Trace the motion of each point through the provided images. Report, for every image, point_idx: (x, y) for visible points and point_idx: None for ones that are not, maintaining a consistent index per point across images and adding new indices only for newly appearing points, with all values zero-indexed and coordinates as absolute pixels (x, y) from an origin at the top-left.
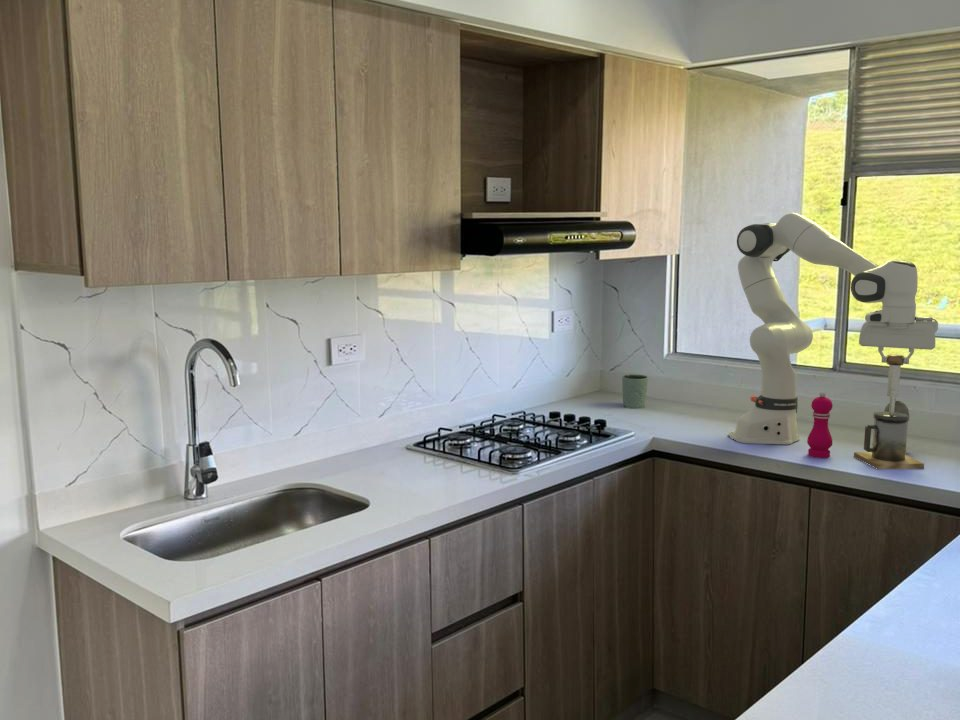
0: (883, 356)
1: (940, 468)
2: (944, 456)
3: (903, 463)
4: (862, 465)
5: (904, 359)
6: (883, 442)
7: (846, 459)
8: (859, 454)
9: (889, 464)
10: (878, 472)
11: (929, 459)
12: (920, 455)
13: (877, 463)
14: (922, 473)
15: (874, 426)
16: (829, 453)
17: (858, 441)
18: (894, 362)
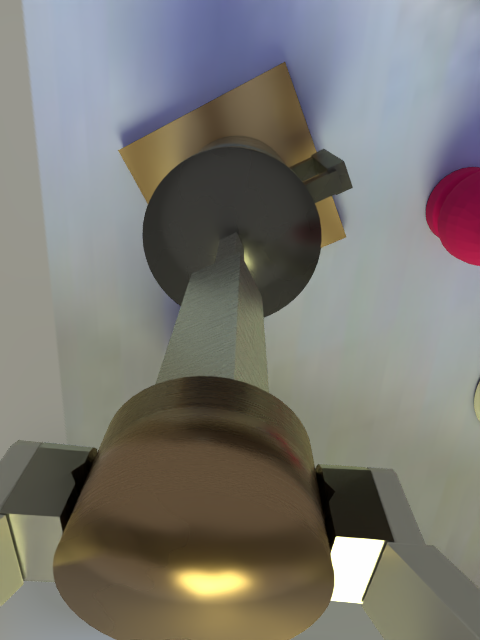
0: (401, 544)
1: (73, 174)
2: (74, 335)
3: (188, 120)
4: (330, 111)
5: (56, 490)
6: (264, 148)
7: (373, 186)
8: (332, 207)
9: (239, 86)
10: (283, 9)
11: (112, 284)
12: (138, 324)
13: (283, 78)
14: (125, 66)
15: (311, 181)
16: (436, 195)
17: (301, 422)
18: (219, 405)
